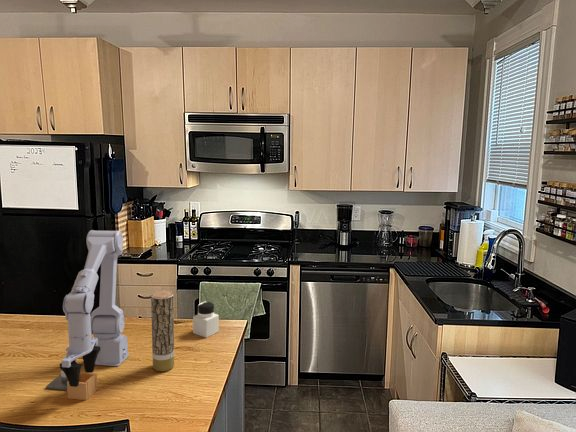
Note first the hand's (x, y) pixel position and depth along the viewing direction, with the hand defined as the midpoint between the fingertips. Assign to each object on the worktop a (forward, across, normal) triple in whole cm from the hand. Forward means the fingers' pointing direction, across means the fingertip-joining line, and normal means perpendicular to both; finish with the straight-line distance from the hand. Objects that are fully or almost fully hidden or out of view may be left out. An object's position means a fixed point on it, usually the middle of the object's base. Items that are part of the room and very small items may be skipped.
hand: (82, 378), depth 122 cm
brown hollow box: (+5, 0, 0) cm, 5 cm away
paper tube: (+5, -18, +17) cm, 25 cm away
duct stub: (+5, -5, -8) cm, 11 cm away
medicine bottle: (+5, -46, +23) cm, 52 cm away
